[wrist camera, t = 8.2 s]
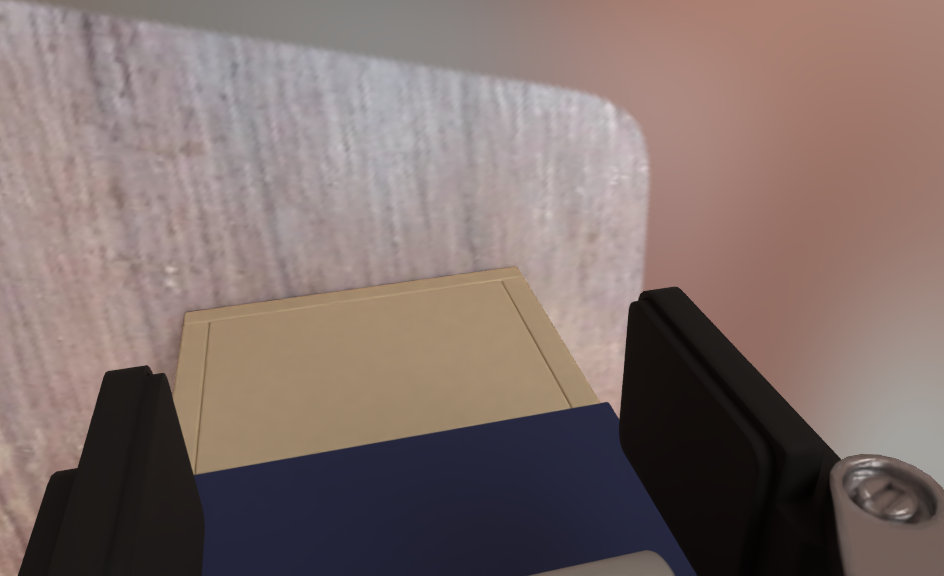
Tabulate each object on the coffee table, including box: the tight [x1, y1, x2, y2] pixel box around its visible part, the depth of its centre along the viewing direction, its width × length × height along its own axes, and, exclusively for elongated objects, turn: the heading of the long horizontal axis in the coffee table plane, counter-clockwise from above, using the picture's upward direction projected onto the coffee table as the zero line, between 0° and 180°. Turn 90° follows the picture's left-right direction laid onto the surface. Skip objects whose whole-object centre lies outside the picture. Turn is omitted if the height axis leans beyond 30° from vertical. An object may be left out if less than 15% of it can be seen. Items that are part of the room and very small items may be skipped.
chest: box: [172, 267, 600, 475], centre depth 26 cm, size 14×11×8 cm
